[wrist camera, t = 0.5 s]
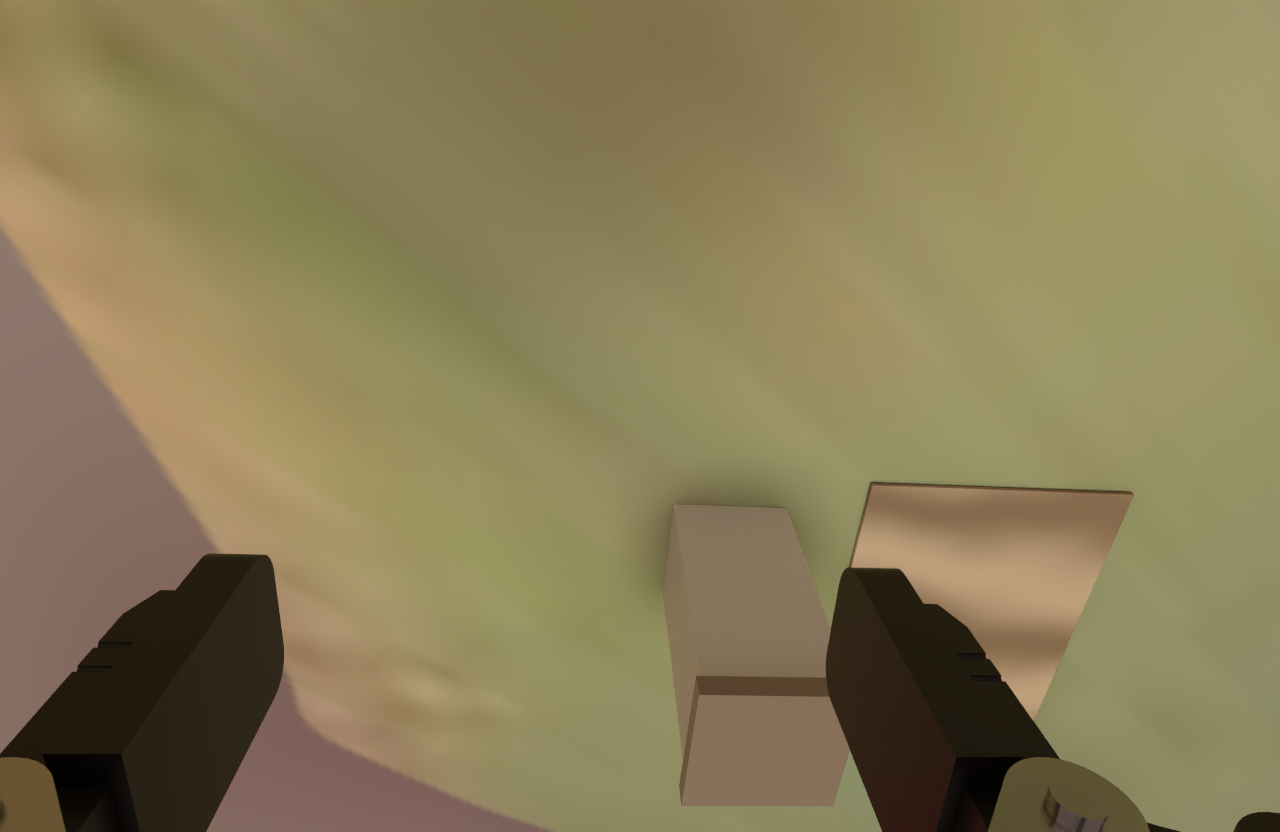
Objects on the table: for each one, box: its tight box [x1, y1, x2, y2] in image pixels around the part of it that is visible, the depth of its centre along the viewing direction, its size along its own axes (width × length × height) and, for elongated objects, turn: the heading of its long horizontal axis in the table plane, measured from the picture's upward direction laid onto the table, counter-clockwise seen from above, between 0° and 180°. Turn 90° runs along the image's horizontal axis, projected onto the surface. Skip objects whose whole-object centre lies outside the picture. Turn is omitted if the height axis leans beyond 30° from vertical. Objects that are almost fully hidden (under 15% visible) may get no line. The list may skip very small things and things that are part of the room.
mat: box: [849, 483, 1134, 721], centre depth 39 cm, size 16×12×1 cm
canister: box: [663, 504, 850, 806], centre depth 32 cm, size 5×5×11 cm
